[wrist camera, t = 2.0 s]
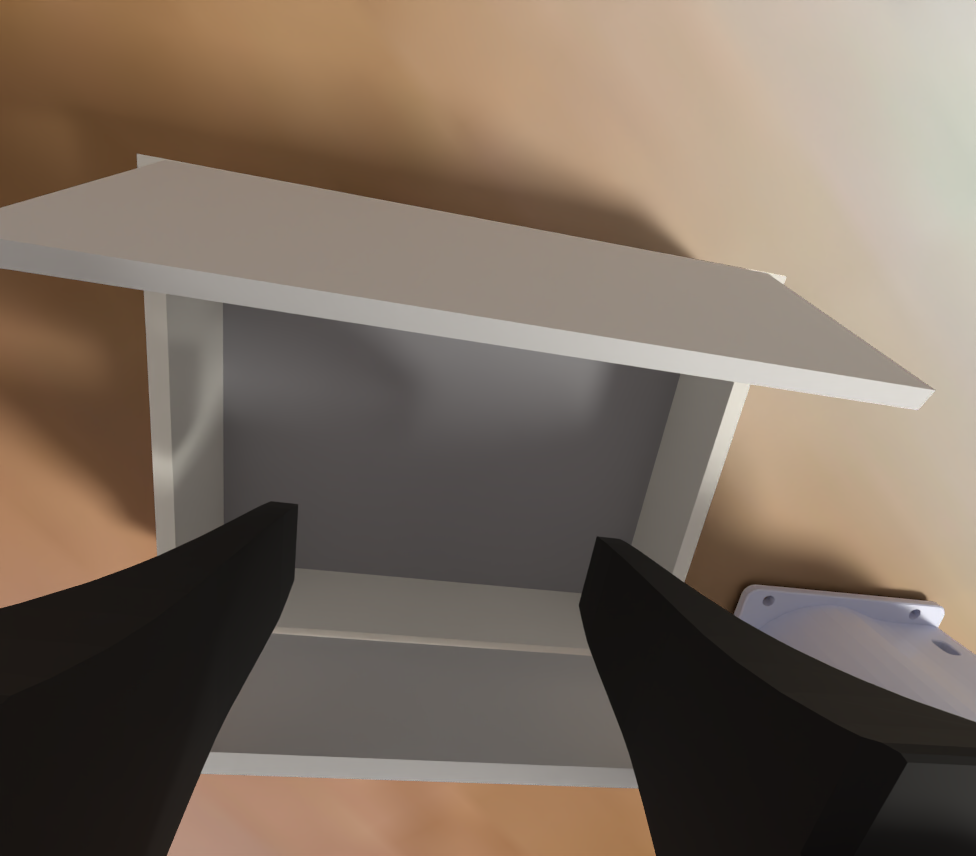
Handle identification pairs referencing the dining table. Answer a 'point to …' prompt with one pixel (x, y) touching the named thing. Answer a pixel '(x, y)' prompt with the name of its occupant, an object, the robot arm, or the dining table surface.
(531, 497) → the carton
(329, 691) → the far flap
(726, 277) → the near flap
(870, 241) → the dining table surface
